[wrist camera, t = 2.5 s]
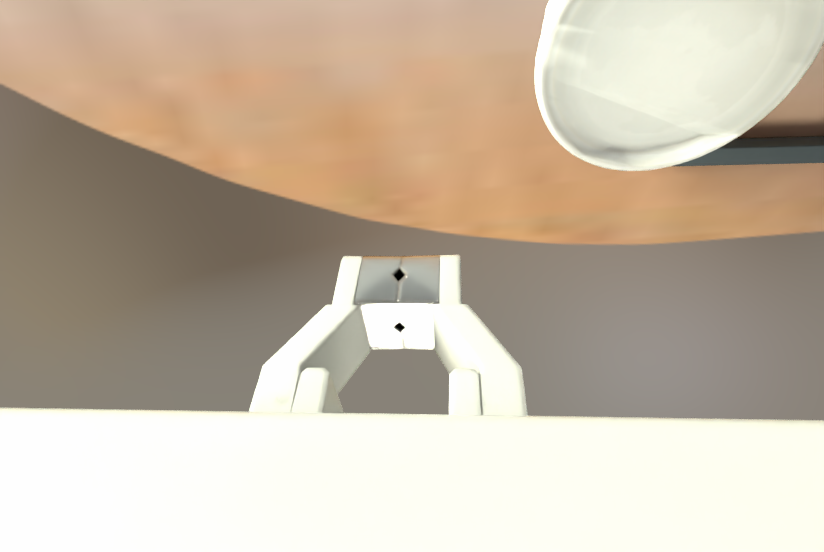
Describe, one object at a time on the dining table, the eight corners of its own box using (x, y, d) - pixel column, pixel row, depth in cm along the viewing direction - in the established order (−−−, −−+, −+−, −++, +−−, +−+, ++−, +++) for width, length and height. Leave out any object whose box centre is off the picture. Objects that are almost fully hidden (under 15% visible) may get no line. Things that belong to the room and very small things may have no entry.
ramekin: (534, 138, 28) (547, 193, 25) (509, -85, 20) (522, -52, 17) (745, 92, 26) (794, 146, 22) (809, -184, 18) (900, -169, 14)
